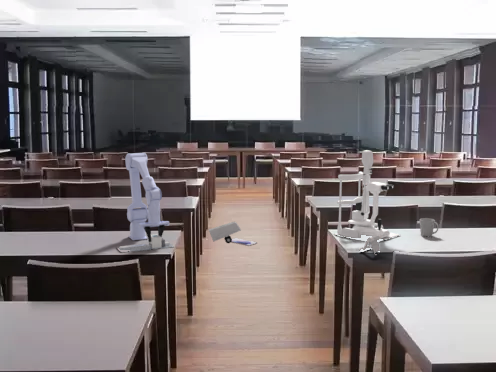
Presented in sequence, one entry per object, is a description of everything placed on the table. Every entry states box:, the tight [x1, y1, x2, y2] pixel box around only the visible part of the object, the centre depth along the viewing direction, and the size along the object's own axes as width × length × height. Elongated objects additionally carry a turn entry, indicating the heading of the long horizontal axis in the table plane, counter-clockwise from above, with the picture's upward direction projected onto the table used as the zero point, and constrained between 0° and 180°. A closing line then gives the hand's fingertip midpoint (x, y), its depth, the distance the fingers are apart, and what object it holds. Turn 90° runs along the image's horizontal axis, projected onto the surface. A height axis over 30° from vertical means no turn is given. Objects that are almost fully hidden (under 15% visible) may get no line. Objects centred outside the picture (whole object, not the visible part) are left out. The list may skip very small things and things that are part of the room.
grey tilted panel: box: [208, 221, 242, 244], centre depth 294 cm, size 4×10×15 cm
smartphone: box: [231, 237, 258, 247], centre depth 295 cm, size 7×1×15 cm
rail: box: [118, 237, 175, 252], centre depth 284 cm, size 10×26×3 cm, turn 115°
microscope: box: [333, 149, 401, 240], centre depth 306 cm, size 24×27×45 cm
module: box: [148, 233, 162, 248], centre depth 286 cm, size 7×4×5 cm, turn 25°
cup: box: [419, 217, 439, 237], centre depth 308 cm, size 8×10×8 cm
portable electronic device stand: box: [358, 235, 382, 256], centre depth 275 cm, size 9×8×8 cm
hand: (154, 241), depth 286 cm, fingers closed on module, 4 cm apart
